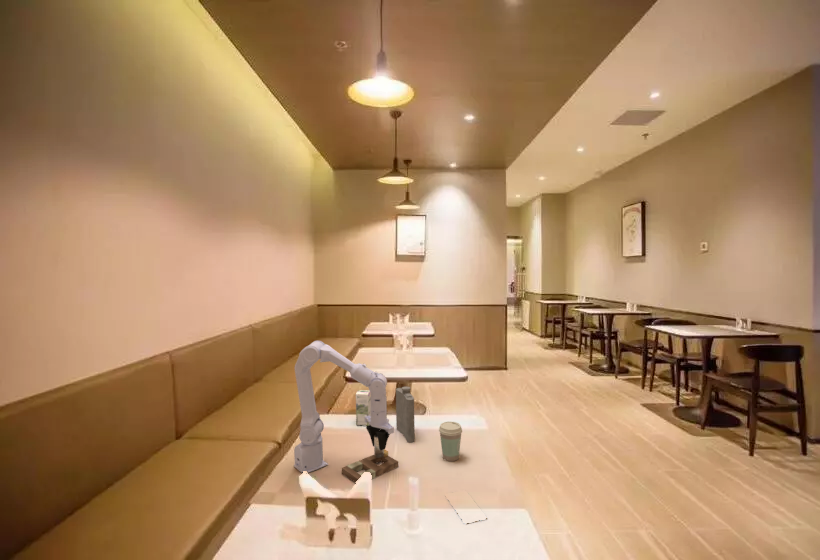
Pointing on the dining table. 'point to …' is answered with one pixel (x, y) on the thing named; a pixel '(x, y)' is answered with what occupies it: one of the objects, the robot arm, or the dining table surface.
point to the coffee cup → (450, 440)
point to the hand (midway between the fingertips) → (379, 447)
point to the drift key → (385, 453)
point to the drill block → (369, 467)
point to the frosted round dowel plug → (377, 448)
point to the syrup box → (362, 406)
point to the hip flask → (405, 413)
